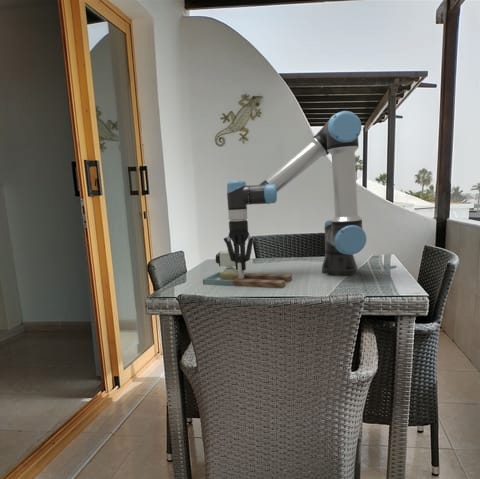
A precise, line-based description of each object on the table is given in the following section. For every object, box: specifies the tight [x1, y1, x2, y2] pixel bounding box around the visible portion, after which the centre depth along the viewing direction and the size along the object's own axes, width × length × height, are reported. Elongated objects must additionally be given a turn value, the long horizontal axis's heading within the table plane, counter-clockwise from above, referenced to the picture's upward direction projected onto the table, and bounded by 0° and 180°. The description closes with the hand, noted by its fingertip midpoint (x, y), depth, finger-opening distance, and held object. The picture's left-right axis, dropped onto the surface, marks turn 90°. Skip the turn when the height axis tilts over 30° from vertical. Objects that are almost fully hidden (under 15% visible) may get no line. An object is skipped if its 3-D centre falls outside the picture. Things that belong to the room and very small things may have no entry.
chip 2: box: [228, 270, 238, 280], centre depth 145 cm, size 4×4×4 cm
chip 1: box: [219, 271, 229, 280], centre depth 147 cm, size 4×4×4 cm
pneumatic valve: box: [215, 250, 241, 272], centre depth 162 cm, size 6×12×12 cm, turn 78°
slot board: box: [232, 272, 293, 289], centre depth 141 cm, size 20×14×3 cm
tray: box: [202, 271, 246, 287], centre depth 147 cm, size 13×14×3 cm
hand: (241, 278), depth 144 cm, fingers closed
